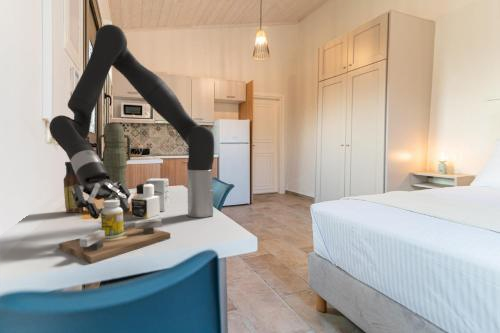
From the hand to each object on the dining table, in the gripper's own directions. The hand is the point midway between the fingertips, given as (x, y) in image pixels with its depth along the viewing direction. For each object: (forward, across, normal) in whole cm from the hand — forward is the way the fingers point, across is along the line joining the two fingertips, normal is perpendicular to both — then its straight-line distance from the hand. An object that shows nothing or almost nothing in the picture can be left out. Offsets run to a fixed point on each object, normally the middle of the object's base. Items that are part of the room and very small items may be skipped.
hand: (113, 214), depth 79 cm
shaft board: (+7, 0, +4) cm, 8 cm away
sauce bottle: (-28, +12, +39) cm, 50 cm away
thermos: (-22, +24, +33) cm, 46 cm away
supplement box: (-11, +33, +22) cm, 41 cm away
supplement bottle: (+4, 0, +5) cm, 6 cm away
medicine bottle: (-8, +24, +19) cm, 31 cm away
